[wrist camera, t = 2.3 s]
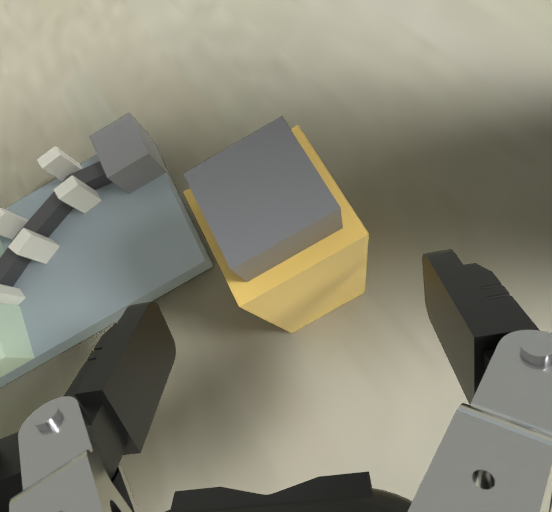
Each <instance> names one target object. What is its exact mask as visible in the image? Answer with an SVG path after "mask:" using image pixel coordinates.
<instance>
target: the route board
mask: <svg viewBox="0 0 552 512" xmlns="http://www.w3.org/2000/svg"><path fill="white" fill-rule="evenodd" d="M90 138H91V140H92V143H93V145H94V148H95V150H96V152H97V155H95V156H93V157H92V158H90V159H88V160H87V161H85V162H83V163H82V164H80V163H78V162H77V161H75V160H74V159H73V158H71V157H70V156H69V155H67V154H66V153H64V152H63V151H62V150H60V149H59V148H58V147H56V146H54V147H53V148H52V149H50V150H49V151H48V152H46V153H45V154H44V155H42V156H41V157H40V158H38V159H37V161H38V163H39V164H40V166H41V168H42V169H43V170H45V171H46V172H48V173H50V174H51V175H53V176H54V177H56V179H55V180H53V181H51V182H49V183H48V184H46V185H44V186H43V187H41V188H39V189H38V190H36V191H34V192H33V193H31V194H29V195H28V196H26V197H24V198H22V199H21V200H19V201H17V202H16V203H14V204H12V205H11V206H9V207H7V208H6V209H3V208H1V207H0V388H1V387H3V386H4V385H6V384H8V383H10V382H11V381H13V380H15V379H17V378H18V377H20V376H22V375H24V374H25V373H27V372H29V371H31V370H32V369H34V368H36V367H38V366H39V365H41V364H43V363H45V362H46V361H48V360H50V359H52V358H53V357H55V356H57V355H59V354H60V353H62V352H64V351H66V350H68V349H69V348H71V347H73V346H75V345H76V344H78V343H80V342H82V341H83V340H85V339H87V338H89V337H90V336H92V335H94V334H96V333H97V332H99V331H101V330H103V329H104V328H106V327H108V326H110V325H111V324H113V323H115V322H117V321H118V320H120V318H121V317H122V315H123V313H124V312H125V310H126V308H127V307H128V306H130V305H134V304H140V303H145V302H151V301H153V300H155V299H157V298H159V297H160V296H162V295H164V294H166V293H168V292H169V291H171V290H173V289H175V288H176V287H178V286H180V285H182V284H183V283H185V282H187V281H189V280H190V279H192V278H194V277H196V276H197V275H199V274H201V273H203V272H204V271H206V270H208V269H210V268H211V267H213V264H212V262H211V260H210V258H209V256H208V254H207V252H206V250H205V248H204V246H203V244H202V242H201V239H200V237H199V235H198V233H197V231H196V229H195V227H194V225H193V223H192V221H191V219H190V217H189V215H188V213H187V210H186V208H185V206H184V204H183V202H182V200H181V198H180V196H179V194H178V192H177V190H176V188H175V186H174V184H173V181H172V179H171V177H170V175H169V173H168V171H167V169H166V167H165V165H164V163H163V161H162V159H161V157H160V155H159V152H158V150H157V148H156V146H155V144H154V142H153V140H152V138H151V137H150V136H149V134H148V133H147V132H146V130H145V129H144V128H143V127H142V126H141V125H140V124H139V123H138V122H137V120H136V119H135V118H134V117H133V116H132V115H131V114H130V113H128V114H126V115H125V116H123V117H121V118H119V119H118V120H116V121H114V122H113V123H111V124H109V125H108V126H106V127H104V128H103V129H101V130H99V131H98V132H96V133H94V134H93V135H91V136H90Z"/></svg>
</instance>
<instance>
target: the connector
mask: <svg viewBox="0 0 552 512" xmlns="http://www.w3.org/2000/svg"><path fill="white" fill-rule="evenodd" d="M183 175H184V177H185V179H186V181H187V183H188V185H189V187H190V188H189V189H187V190H185V191H183V193H184V195H185V197H186V199H187V201H188V203H189V205H190V207H191V209H192V211H193V214H194V216H195V218H196V220H197V222H198V224H199V226H200V228H201V230H202V232H203V234H204V236H205V238H206V240H207V242H208V244H209V246H210V248H211V250H212V252H213V254H214V257H215V259H216V261H217V263H218V265H219V267H220V269H221V271H222V273H223V275H224V277H225V279H226V281H227V283H228V285H229V287H230V289H231V291H232V293H233V295H234V297H235V300H236V302H237V304H238V306H239V307H240V308H242V309H244V310H246V311H248V312H250V313H252V314H254V315H256V316H258V317H260V318H262V319H264V320H266V321H268V322H270V323H272V324H274V325H276V326H278V327H280V328H282V329H284V330H286V331H288V332H290V333H293V332H295V331H297V330H298V329H300V328H302V327H304V326H306V325H307V324H309V323H311V322H313V321H315V320H316V319H318V318H320V317H322V316H324V315H325V314H327V313H329V312H331V311H333V310H334V309H336V308H338V307H340V306H342V305H343V304H345V303H347V302H349V301H350V300H352V299H354V298H356V297H358V296H359V295H361V294H363V293H365V282H366V268H367V254H368V240H369V233H368V232H367V230H366V229H365V227H364V226H363V224H362V222H361V221H360V219H359V218H358V216H357V215H356V213H355V212H354V210H353V209H352V207H351V206H350V204H349V202H348V201H347V199H346V198H345V196H344V195H343V193H342V192H341V190H340V189H339V187H338V186H337V184H336V182H335V181H334V179H333V178H332V176H331V175H330V173H329V172H328V170H327V169H326V167H325V166H324V164H323V162H322V161H321V159H320V158H319V156H318V155H317V153H316V152H315V150H314V149H313V147H312V146H311V144H310V142H309V141H308V139H307V138H306V136H305V135H304V133H303V132H302V130H301V129H300V127H299V125H297V126H295V127H294V128H292V129H290V127H289V126H288V124H287V123H286V121H285V120H284V118H283V117H282V116H281V117H279V118H278V119H276V120H274V121H273V122H271V123H269V124H268V125H266V126H264V127H262V128H261V129H259V130H257V131H256V132H254V133H252V134H250V135H249V136H247V137H245V138H244V139H242V140H240V141H238V142H237V143H235V144H233V145H232V146H230V147H228V148H226V149H225V150H223V151H221V152H220V153H218V154H216V155H214V156H213V157H211V158H209V159H208V160H206V161H204V162H202V163H201V164H199V165H197V166H196V167H194V168H192V169H190V170H189V171H187V172H185V173H184V174H183Z"/></svg>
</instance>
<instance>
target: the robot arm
mask: <svg viewBox="0 0 552 512" xmlns="http://www.w3.org/2000/svg"><path fill="white" fill-rule="evenodd" d="M422 262H423V277H424V291H425V302H426V308H427V312H428V316H429V319H430V321H431V323H432V325H433V328H434V330H435V332H436V334H437V336H438V338H439V340H440V343H441V345H442V347H443V349H444V351H445V353H446V355H447V357H448V360H449V362H450V364H451V366H452V368H453V370H454V372H455V375H456V377H457V379H458V381H459V383H460V385H461V387H462V389H463V392H464V394H465V396H466V398H467V400H468V402H469V404H470V405H467V404H465V403H462V404H461V405H460V406H459V407H458V409H457V410H456V412H455V414H454V416H453V418H452V420H451V423H450V425H449V427H448V429H447V431H446V433H445V435H444V437H443V439H442V441H441V443H440V445H439V447H438V450H437V452H436V454H435V456H434V458H433V460H432V462H431V464H430V466H429V468H428V470H427V472H426V474H425V476H424V479H423V481H422V483H421V485H420V487H419V489H418V491H417V493H416V495H415V497H414V499H413V501H410V500H409V499H406V498H404V497H402V496H399V495H397V494H394V493H391V492H387V491H384V490H379V489H373V488H372V485H371V480H370V475H369V472H361V473H351V474H341V475H332V476H322V477H317V478H314V479H311V480H309V481H306V482H303V483H301V484H298V485H295V486H292V487H290V488H287V489H284V490H282V491H279V492H276V493H273V494H270V495H262V494H256V493H251V492H245V491H240V490H234V489H229V488H223V487H215V488H205V489H195V490H185V491H176V492H175V494H174V498H173V502H172V506H171V509H170V510H168V511H166V512H552V333H548V332H544V331H540V330H539V329H538V328H537V326H536V325H535V324H534V323H533V322H532V320H531V319H530V318H529V317H528V315H527V314H526V313H525V312H524V311H523V309H522V308H521V307H520V306H519V304H518V303H517V302H516V301H515V300H514V298H513V297H512V296H510V295H509V292H508V291H507V290H506V289H505V287H504V286H502V285H501V283H500V281H499V280H498V279H497V278H496V276H495V275H494V274H493V273H492V272H491V271H489V270H487V269H485V268H484V267H482V266H480V265H478V264H476V263H473V264H468V265H463V264H462V262H461V261H460V260H459V258H458V257H457V255H456V254H455V253H454V251H453V250H452V249H449V250H443V251H438V252H432V253H426V254H423V258H422ZM175 355H176V348H175V342H174V339H173V337H172V335H171V332H170V330H169V328H168V326H167V324H166V321H165V319H164V317H163V315H162V313H161V310H160V308H159V306H158V305H157V303H155V302H154V301H151V302H145V303H140V304H134V305H130V306H128V307H127V308H126V310H125V312H124V313H123V315H122V317H121V318H120V320H119V322H118V323H117V324H114V325H113V326H112V327H111V328H110V329H109V330H108V331H107V332H106V333H105V334H104V335H103V336H102V337H101V338H100V340H99V342H98V343H97V345H96V346H95V348H94V351H92V353H91V354H90V356H89V357H88V361H87V362H85V364H84V365H83V367H82V368H81V370H80V372H79V373H78V375H77V376H76V378H75V379H74V381H73V383H72V384H71V386H70V387H69V389H68V390H67V392H66V394H65V395H64V397H59V398H56V399H53V400H51V401H49V402H47V403H45V404H43V405H42V406H40V407H39V408H38V409H36V410H35V411H34V412H33V413H32V414H31V415H30V416H29V417H28V418H27V419H26V420H25V421H24V423H23V424H22V426H21V428H20V430H19V432H18V433H15V434H12V435H10V436H7V437H5V438H2V439H0V512H139V511H138V509H137V506H136V503H135V501H134V498H133V495H132V493H131V490H130V487H129V485H128V482H127V479H126V477H125V474H124V471H123V470H122V468H121V466H120V465H119V462H120V460H121V457H122V455H126V454H135V453H141V450H142V447H143V444H144V442H145V439H146V436H147V434H148V431H149V428H150V425H151V423H152V420H153V417H154V414H155V412H156V409H157V406H158V404H159V401H160V398H161V395H162V393H163V390H164V387H165V384H166V382H167V379H168V376H169V374H170V371H171V368H172V365H173V363H174V360H175Z"/></svg>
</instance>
